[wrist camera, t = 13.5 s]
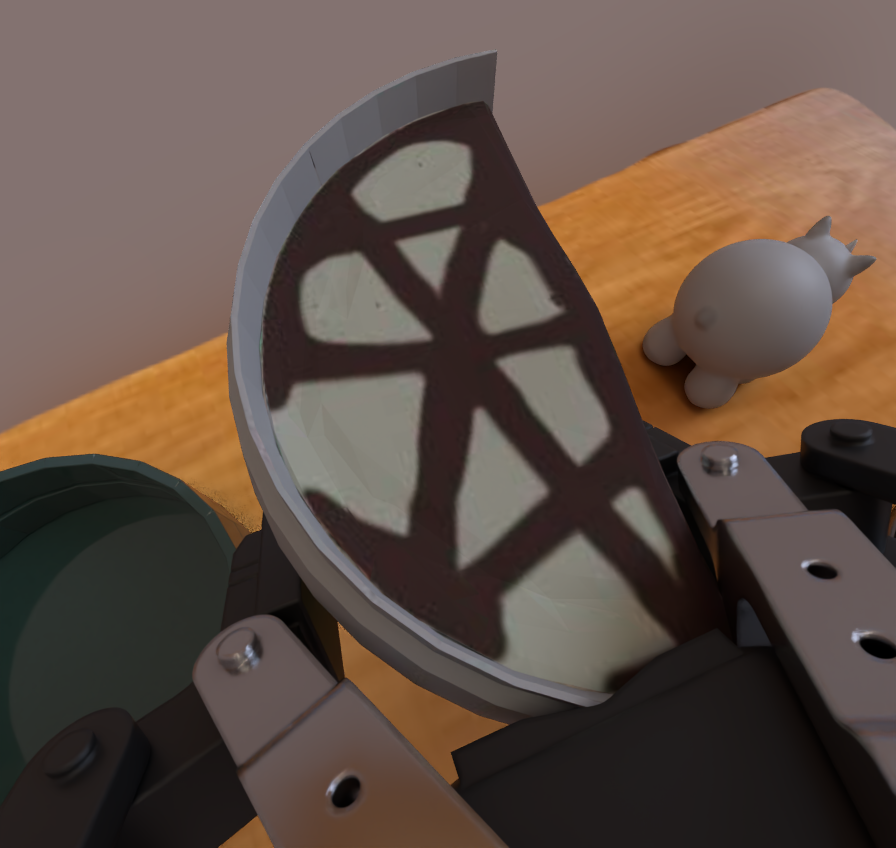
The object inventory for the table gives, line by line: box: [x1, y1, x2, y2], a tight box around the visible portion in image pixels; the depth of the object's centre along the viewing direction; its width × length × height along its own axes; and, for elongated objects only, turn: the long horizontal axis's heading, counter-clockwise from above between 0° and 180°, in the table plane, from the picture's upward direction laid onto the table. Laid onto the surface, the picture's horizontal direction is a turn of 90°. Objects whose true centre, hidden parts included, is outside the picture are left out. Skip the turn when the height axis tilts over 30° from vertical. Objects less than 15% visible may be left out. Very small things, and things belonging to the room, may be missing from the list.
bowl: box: [0, 454, 251, 806], centre depth 21 cm, size 16×16×6 cm
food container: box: [227, 49, 733, 724], centre depth 12 cm, size 12×6×10 cm, turn 17°
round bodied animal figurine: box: [643, 216, 876, 409], centre depth 28 cm, size 7×12×8 cm, turn 121°
